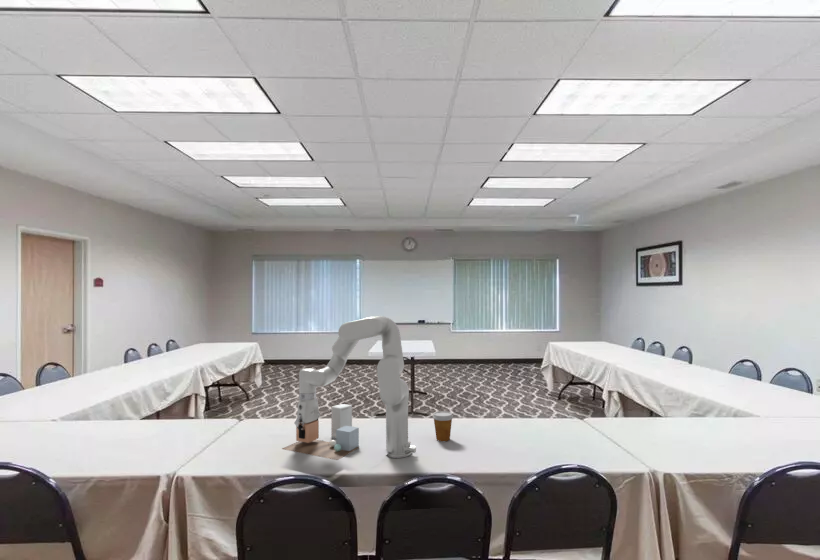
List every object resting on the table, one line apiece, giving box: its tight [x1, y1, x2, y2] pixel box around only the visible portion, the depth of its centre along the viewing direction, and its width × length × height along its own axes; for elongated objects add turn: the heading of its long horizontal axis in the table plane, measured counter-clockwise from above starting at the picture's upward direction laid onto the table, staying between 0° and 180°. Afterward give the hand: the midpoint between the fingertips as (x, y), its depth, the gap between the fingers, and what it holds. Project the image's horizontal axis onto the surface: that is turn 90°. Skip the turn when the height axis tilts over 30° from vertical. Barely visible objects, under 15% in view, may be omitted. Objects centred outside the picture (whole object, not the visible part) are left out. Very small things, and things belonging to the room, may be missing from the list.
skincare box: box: [330, 403, 353, 439], centre depth 199 cm, size 8×7×16 cm
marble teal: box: [334, 444, 341, 452], centre depth 178 cm, size 3×3×3 cm
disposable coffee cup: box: [432, 410, 454, 442], centre depth 197 cm, size 10×10×12 cm
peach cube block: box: [295, 419, 320, 443], centre depth 189 cm, size 7×7×8 cm
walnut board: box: [281, 439, 360, 461], centre depth 182 cm, size 30×16×2 cm, turn 63°
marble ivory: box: [329, 439, 336, 447], centre depth 183 cm, size 3×3×3 cm
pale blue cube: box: [335, 426, 360, 451], centre depth 183 cm, size 7×7×8 cm
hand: (307, 435), depth 189 cm, fingers closed on peach cube block, 7 cm apart
